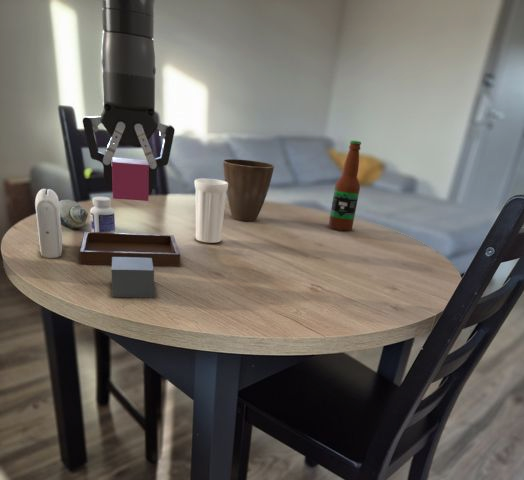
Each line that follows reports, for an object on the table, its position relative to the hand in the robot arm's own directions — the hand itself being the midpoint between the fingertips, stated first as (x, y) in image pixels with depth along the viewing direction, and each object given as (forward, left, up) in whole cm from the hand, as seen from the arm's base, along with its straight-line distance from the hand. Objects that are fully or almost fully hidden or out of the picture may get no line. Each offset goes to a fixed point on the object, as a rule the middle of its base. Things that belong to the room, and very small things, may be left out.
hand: (130, 189), depth 79 cm
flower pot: (+34, +60, -18) cm, 71 cm away
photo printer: (-16, +22, -18) cm, 32 cm away
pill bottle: (-6, +34, -18) cm, 39 cm away
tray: (0, +21, -17) cm, 27 cm away
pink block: (0, 0, -1) cm, 1 cm away
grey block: (0, 0, -17) cm, 17 cm away
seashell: (-14, +42, -18) cm, 48 cm away
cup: (+19, +34, -18) cm, 43 cm away
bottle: (+63, +53, -18) cm, 84 cm away
